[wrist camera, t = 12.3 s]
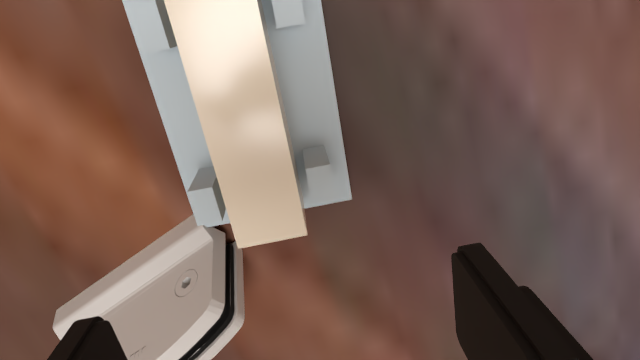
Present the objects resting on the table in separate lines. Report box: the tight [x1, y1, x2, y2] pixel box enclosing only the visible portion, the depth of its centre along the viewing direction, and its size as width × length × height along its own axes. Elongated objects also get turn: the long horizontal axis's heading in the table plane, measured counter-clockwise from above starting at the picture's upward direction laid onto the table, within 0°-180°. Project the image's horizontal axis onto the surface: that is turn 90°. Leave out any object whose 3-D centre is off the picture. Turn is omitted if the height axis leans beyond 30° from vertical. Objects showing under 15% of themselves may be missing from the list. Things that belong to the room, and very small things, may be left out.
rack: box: [122, 0, 352, 227], centre depth 27 cm, size 18×12×6 cm, turn 10°
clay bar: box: [164, 0, 307, 249], centre depth 25 cm, size 16×4×6 cm, turn 10°
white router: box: [53, 214, 245, 360], centre depth 31 cm, size 17×5×10 cm, turn 125°
